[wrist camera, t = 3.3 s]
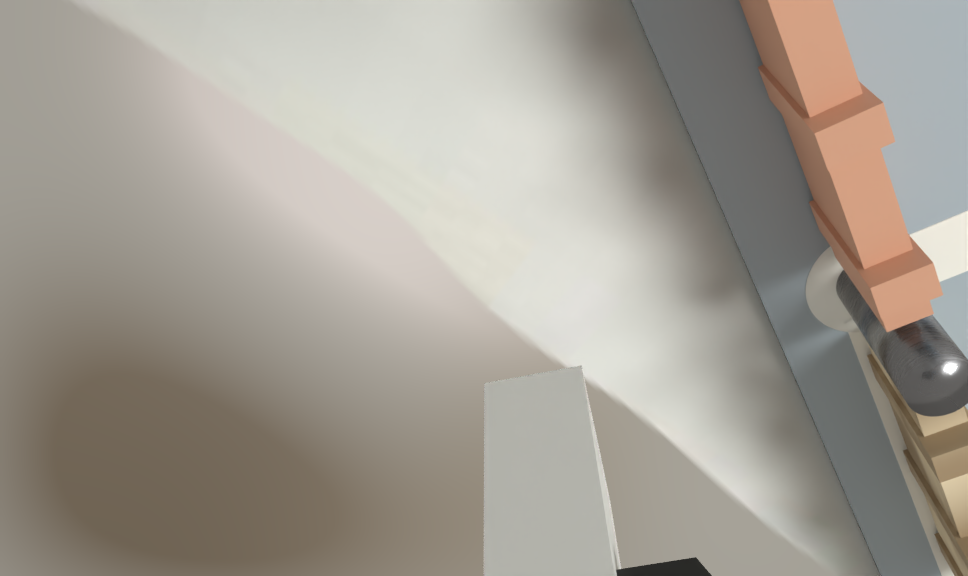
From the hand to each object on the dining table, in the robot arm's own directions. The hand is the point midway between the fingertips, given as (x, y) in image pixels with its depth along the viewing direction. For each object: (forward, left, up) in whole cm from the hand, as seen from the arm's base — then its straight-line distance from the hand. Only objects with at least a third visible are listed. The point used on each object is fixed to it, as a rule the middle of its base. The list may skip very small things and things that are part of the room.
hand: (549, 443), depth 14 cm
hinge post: (+9, +7, -13) cm, 17 cm away
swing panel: (+1, +7, -12) cm, 14 cm away
